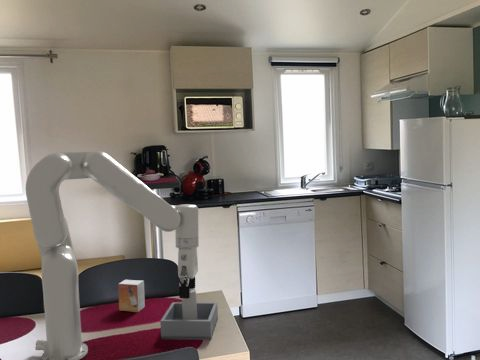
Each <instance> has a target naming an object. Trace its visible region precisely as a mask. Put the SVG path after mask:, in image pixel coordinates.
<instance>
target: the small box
mask: <svg viewBox="0 0 480 360" xmlns="http://www.w3.org/2000/svg"><path fill="white" fill-rule="evenodd" d="M117 288H118V310H119V311H120V312H121V311H124V312H133V313H139V312H140V311H141V310H143V309H144V308H145V306H146V305H145V304H146V303H145V301H146V300H145V280H140V279H139V280H137V279H136V280H135V279H134V280H133V279H124V280H122V281H121V282H119V283H118V287H117Z"/></svg>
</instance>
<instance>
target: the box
mask: <svg viewBox="0 0 480 360" xmlns="http://www.w3.org/2000/svg"><path fill="white" fill-rule="evenodd" d="M196 302H197V301H196ZM218 309H219V308H218V302H216V301H215V302H214V301H211V302H210V301H209V302H204V301H203V302H201V301H200V302H197V320H183V314H182V301H181V302H179V301H178V302H177V301H176V302H173V301H172V303H171V304H170V305H169V307H168V308H167V310H166V311H165V313H164V315H163V316H162V318H161V319H160V321H159V322H160V338H161V339H160V340H184V341H185V340H192V341H193V340H194V341H195V340H197V341H199V340H201V341H202V340H203V341H205V340H207V341H209V340H212V338H213V335H214V332H215V328H216V327H217V323H218V320H219V311H218Z"/></svg>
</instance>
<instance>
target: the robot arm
mask: <svg viewBox="0 0 480 360" xmlns="http://www.w3.org/2000/svg"><path fill="white" fill-rule="evenodd" d="M83 179H92V180H93V181H94V182H96V183H97V184H98V185H100V186H101V188H104V189H105V190H106V191H107V192H109V193H110V194H111V195H112V196H114V197H115V198H117V200H119V201H120V202H122V203H123V204H124V205H126V206H128V207H129V208H131V209H133V210H135V211H136V212H138V213H139V214H140V215H142V216H143V217H144V218H146V219H147V220H148V221H150V222H151V223H152V224H153V225H154V226H155V227H156V228H158V229H159V230H161V231H163V232H168V233H169V232H174V231H175V248H176V249H178V250H177V251H178V252H177V254H178V255H177V274H178V275H177V277H178V278H179V283H178V285H179V287H178V288H179V289H178V290H179V293H178V296H179V297H178V298H179V299H182V298H186V299H188V298H189V297H190V290H189V289H190V288H191V289H196V275H197V274H198V272H199V267H198V263H199V262H198V249H197V248H199V244H200V243H199V238H200V237H199V207H198V206H197V205H196V204H189V203H187V204H186V203H185V204H177V205H173V204H170V203H168V202H167V201H166V200H165V199H164V198H163V197H161V196H159V194H157V193H156V192H155V191H154V190H152V189H151V188H150V187H148V186H147V185H146V184H145V183H144V182H143V181H142V180H140V179H139V178H138V177H137V176H135V175H134V174H133V173H131V172H130V171H129V170H128V169H126V168H125V167H124V166H123V165H122V164H120V163H119V162H118V161H116V160H115V159H114V157H112V156H111V155H109V154H108V153H106V152H104V151H101V150H91V151H90V150H89V151H78V152H77V151H76V152H72V151H71V152H51V153H49V154H47V155H45V156H44V157H43V158H41V159H40V160H39V161H38V162H36V164H35V165H34V166H33V167H32V168H31V170H30V171H29V173H28V174H27V178H26V182H25V194H26V195H25V196H26V201H27V205H28V210H29V211H28V212H29V215H30V216H29V217H30V219H31V224H32V234H33V237H34V238H35V241H36V243H37V247H38V251H39V255H40V259H41V272H40V273H41V284H42V292H43V307H44V317H45V318H44V319H45V334H46V337H45V338H46V340H44V339H41V340H40V339H37V340H36V342H35V346H34V349H35V351H43V353H42V355H41V360H81V359H83V358H85V356H86V355H87V354H88V351H89V348H88V345H87V344H86V343H84V342H83V339H82V323H81V321H82V320H81V306H80V304H81V303H80V292H79V266H78V262H77V261H78V260H77V257H76V255H75V250H74V246H73V243H72V237H71V233H70V229H69V225H68V221H67V218H66V217H65V214H64V210H63V207H62V201H61V197H60V196H61V195H60V186H61V184H62V182H64V181H65V180H83Z"/></svg>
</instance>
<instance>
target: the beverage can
mask: <svg viewBox="0 0 480 360" xmlns="http://www.w3.org/2000/svg"><path fill="white" fill-rule="evenodd" d="M189 290H190V297H189V298H188V299H186V298H181V302H182V314H183V320H197V291H196V288H194V289H191V288H190V289H189Z"/></svg>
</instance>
